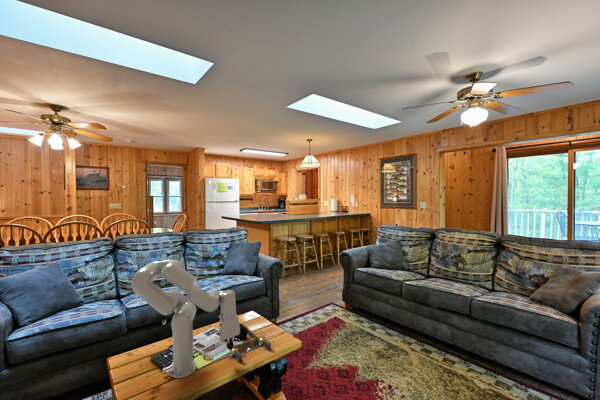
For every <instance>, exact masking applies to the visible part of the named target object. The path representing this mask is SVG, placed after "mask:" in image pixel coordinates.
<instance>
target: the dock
mask: <svg viewBox="0 0 600 400" xmlns="http://www.w3.org/2000/svg"><path fill="white" fill-rule="evenodd" d="M241 324H242V326H244V327H246V328H247V329H248V330H247V336H249V337H250V339H248V340H244V341H243V342H240V343H237V344H234V343H233V347H238V351H241V350H243V349H246V348H248V347H251V346H253V345H256V344H259V336H258V335H256V334H255V333H254V332H253V331H252V330H251V329H250V328H249V327H247V326H246V325H245V324H244V323H241Z"/></svg>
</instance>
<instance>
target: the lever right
mask: <svg viewBox="0 0 600 400" xmlns="http://www.w3.org/2000/svg"><path fill="white" fill-rule="evenodd" d="M258 338H259V342H258V344H259V345H263V346H262V347H264V348H265V349H267V351H271V350H272V344H271V342H270V341H268V340H267V337H266V336H264V335H261V336H258Z"/></svg>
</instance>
